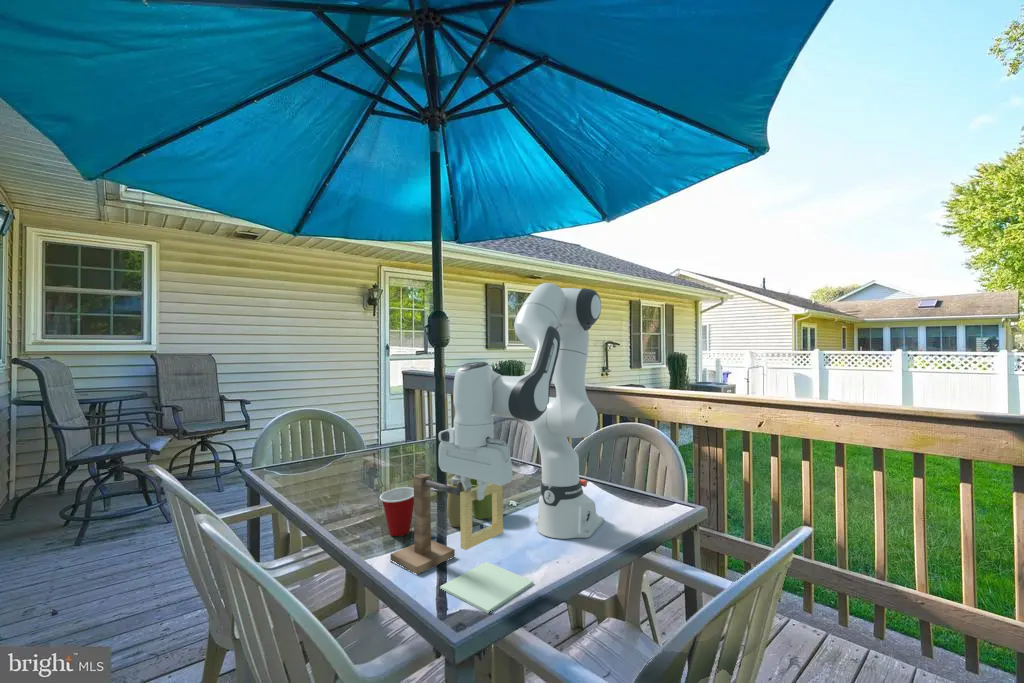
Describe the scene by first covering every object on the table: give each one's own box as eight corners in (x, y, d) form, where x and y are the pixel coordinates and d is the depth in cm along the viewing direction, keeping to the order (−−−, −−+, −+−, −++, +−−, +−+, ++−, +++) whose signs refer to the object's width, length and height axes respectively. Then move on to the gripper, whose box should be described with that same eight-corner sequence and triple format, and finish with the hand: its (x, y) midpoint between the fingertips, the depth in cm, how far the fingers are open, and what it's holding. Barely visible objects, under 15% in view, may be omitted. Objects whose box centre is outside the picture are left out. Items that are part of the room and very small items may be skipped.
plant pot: (498, 523, 138) (497, 487, 138) (461, 521, 141) (461, 485, 141) (506, 510, 150) (505, 476, 150) (472, 508, 152) (471, 474, 152)
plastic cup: (373, 533, 132) (372, 492, 132) (405, 523, 140) (404, 484, 140) (391, 544, 124) (391, 501, 125) (424, 533, 132) (424, 492, 132)
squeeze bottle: (460, 517, 144) (459, 461, 144) (478, 523, 139) (477, 464, 139) (441, 525, 138) (440, 466, 138) (459, 531, 133) (458, 470, 133)
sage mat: (486, 564, 112) (486, 561, 112) (533, 583, 102) (533, 581, 102) (439, 588, 101) (439, 586, 101) (487, 613, 91) (487, 610, 91)
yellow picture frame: (498, 530, 106) (497, 479, 106) (503, 532, 105) (502, 481, 105) (460, 548, 97) (460, 492, 97) (465, 550, 96) (465, 493, 96)
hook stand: (427, 545, 123) (426, 464, 124) (480, 568, 110) (479, 476, 110) (390, 561, 114) (389, 473, 115) (443, 588, 101) (441, 488, 101)
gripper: (518, 438, 95) (519, 503, 95) (454, 428, 108) (454, 486, 108) (498, 443, 90) (499, 512, 90) (433, 432, 104) (434, 492, 103)
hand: (474, 497), depth 99 cm, fingers closed on yellow picture frame, 2 cm apart
